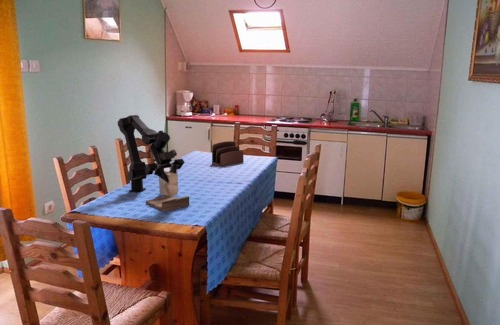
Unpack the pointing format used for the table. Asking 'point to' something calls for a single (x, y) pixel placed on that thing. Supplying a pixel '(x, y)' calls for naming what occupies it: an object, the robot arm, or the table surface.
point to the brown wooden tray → (168, 202)
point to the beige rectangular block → (171, 184)
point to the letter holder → (226, 153)
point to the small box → (161, 182)
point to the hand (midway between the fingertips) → (172, 181)
